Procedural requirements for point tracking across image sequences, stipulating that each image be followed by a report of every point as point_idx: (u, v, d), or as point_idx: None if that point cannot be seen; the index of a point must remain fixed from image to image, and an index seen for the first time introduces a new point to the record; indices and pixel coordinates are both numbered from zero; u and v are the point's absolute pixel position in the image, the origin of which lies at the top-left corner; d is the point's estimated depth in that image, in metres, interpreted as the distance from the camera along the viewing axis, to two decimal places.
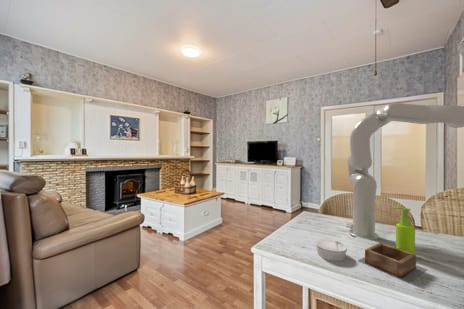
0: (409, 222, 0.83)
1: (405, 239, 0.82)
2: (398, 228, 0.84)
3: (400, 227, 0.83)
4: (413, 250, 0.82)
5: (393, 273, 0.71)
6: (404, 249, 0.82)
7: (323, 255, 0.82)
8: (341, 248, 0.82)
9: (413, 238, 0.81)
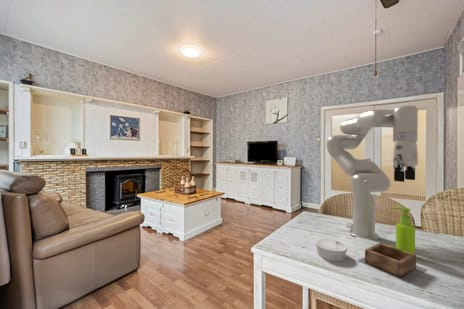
0: (409, 222, 0.83)
1: (405, 239, 0.82)
2: (398, 228, 0.84)
3: (400, 227, 0.83)
4: (413, 250, 0.82)
5: (393, 273, 0.71)
6: (404, 249, 0.82)
7: (323, 255, 0.82)
8: (341, 248, 0.82)
9: (413, 238, 0.81)
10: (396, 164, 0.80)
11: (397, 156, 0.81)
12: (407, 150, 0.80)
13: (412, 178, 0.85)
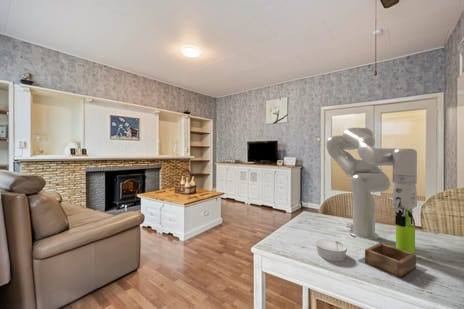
0: (409, 222, 0.82)
1: (405, 239, 0.82)
2: (398, 228, 0.84)
3: (400, 227, 0.83)
4: (413, 250, 0.82)
5: (393, 273, 0.71)
6: (404, 249, 0.82)
7: (323, 255, 0.82)
8: (341, 248, 0.82)
9: (413, 238, 0.81)
10: (397, 211, 0.81)
11: (397, 201, 0.82)
12: (407, 194, 0.80)
13: None
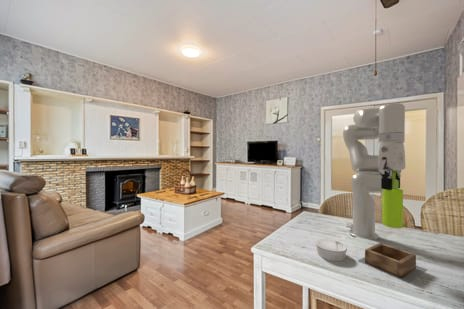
0: (396, 185, 0.74)
1: (391, 203, 0.74)
2: (384, 192, 0.76)
3: (386, 191, 0.75)
4: (401, 216, 0.73)
5: (393, 273, 0.71)
6: (391, 215, 0.74)
7: (323, 255, 0.82)
8: (341, 248, 0.82)
9: (401, 202, 0.73)
10: (383, 172, 0.73)
11: (382, 162, 0.74)
12: (393, 153, 0.72)
13: None
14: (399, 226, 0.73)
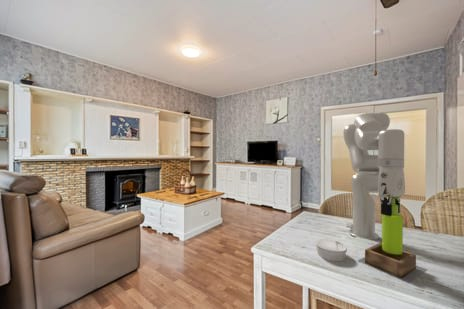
0: (396, 211, 0.74)
1: (391, 229, 0.74)
2: (384, 218, 0.76)
3: (386, 216, 0.75)
4: (400, 242, 0.73)
5: (393, 273, 0.71)
6: (390, 241, 0.74)
7: (323, 255, 0.82)
8: (341, 248, 0.82)
9: (400, 228, 0.73)
10: (382, 198, 0.73)
11: (382, 188, 0.74)
12: (393, 179, 0.72)
13: None
14: (399, 252, 0.73)
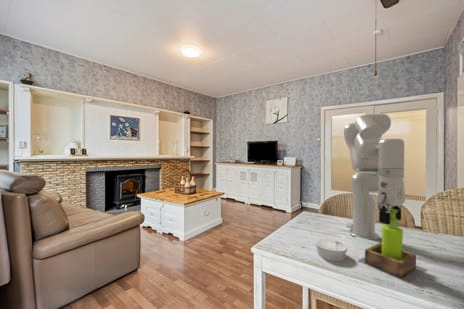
0: (396, 225, 0.74)
1: (391, 243, 0.74)
2: (384, 231, 0.76)
3: (386, 230, 0.75)
4: (400, 256, 0.74)
5: (393, 273, 0.71)
6: (390, 254, 0.74)
7: (323, 255, 0.82)
8: (341, 248, 0.82)
9: (400, 242, 0.73)
10: (381, 206, 0.72)
11: (381, 196, 0.74)
12: (393, 189, 0.72)
13: (398, 218, 0.78)
14: None
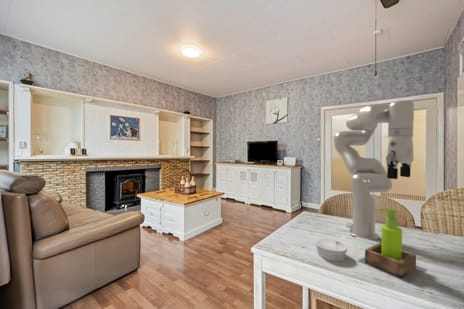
0: (395, 224, 0.75)
1: (390, 243, 0.74)
2: (383, 231, 0.76)
3: (385, 230, 0.75)
4: (399, 255, 0.74)
5: (393, 273, 0.71)
6: (390, 254, 0.74)
7: (323, 255, 0.82)
8: (341, 248, 0.82)
9: (399, 242, 0.74)
10: (389, 161, 0.78)
11: (391, 153, 0.79)
12: (401, 147, 0.77)
13: (407, 175, 0.83)
14: None
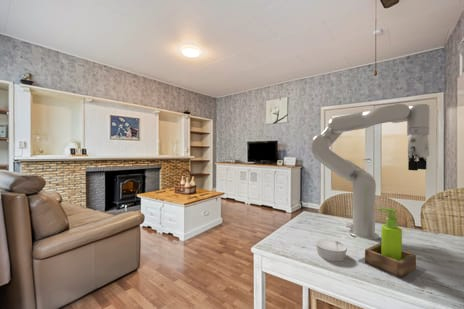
0: (395, 224, 0.75)
1: (390, 243, 0.74)
2: (383, 231, 0.76)
3: (385, 230, 0.75)
4: (399, 255, 0.74)
5: (393, 273, 0.71)
6: (390, 254, 0.74)
7: (323, 255, 0.82)
8: (341, 248, 0.82)
9: (399, 242, 0.74)
10: (410, 155, 0.91)
11: (411, 148, 0.93)
12: (421, 143, 0.91)
13: (424, 168, 0.97)
14: None
